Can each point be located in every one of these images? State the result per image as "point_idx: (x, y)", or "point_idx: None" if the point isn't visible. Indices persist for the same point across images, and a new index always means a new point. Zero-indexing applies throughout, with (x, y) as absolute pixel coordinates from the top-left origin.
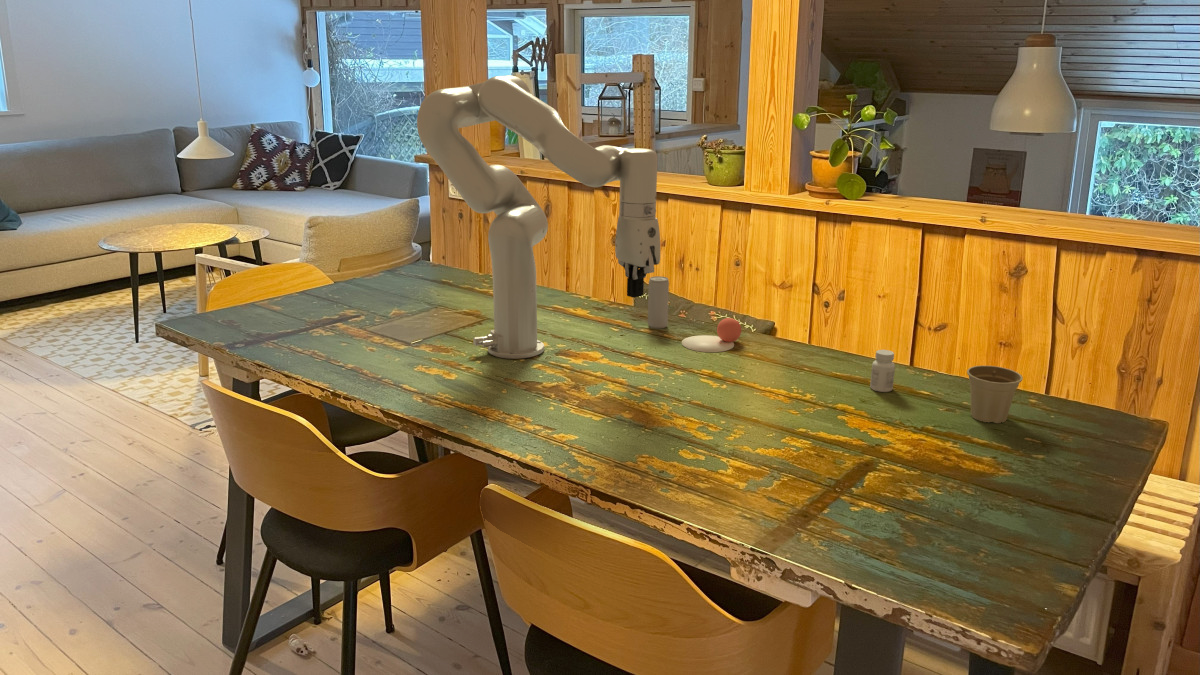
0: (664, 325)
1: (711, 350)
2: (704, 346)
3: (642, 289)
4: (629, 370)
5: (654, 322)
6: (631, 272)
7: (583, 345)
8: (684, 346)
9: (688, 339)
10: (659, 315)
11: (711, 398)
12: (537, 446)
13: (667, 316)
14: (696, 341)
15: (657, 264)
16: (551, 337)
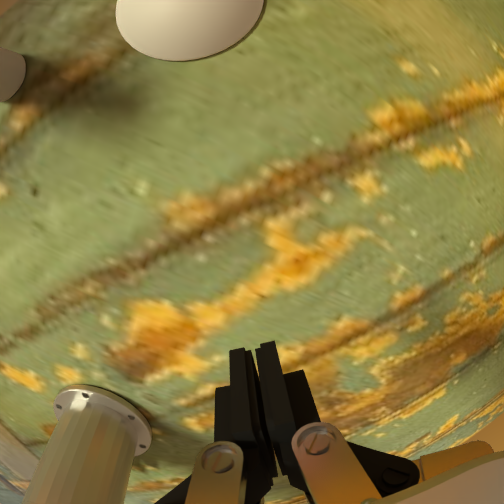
0: (24, 63)
1: (250, 14)
2: (209, 14)
3: (305, 378)
4: (299, 288)
5: (10, 89)
6: (254, 500)
7: (85, 311)
8: (180, 60)
9: (133, 30)
10: (5, 74)
11: (490, 208)
12: (443, 443)
13: (8, 50)
14: (159, 16)
15: (497, 453)
16: (31, 343)
